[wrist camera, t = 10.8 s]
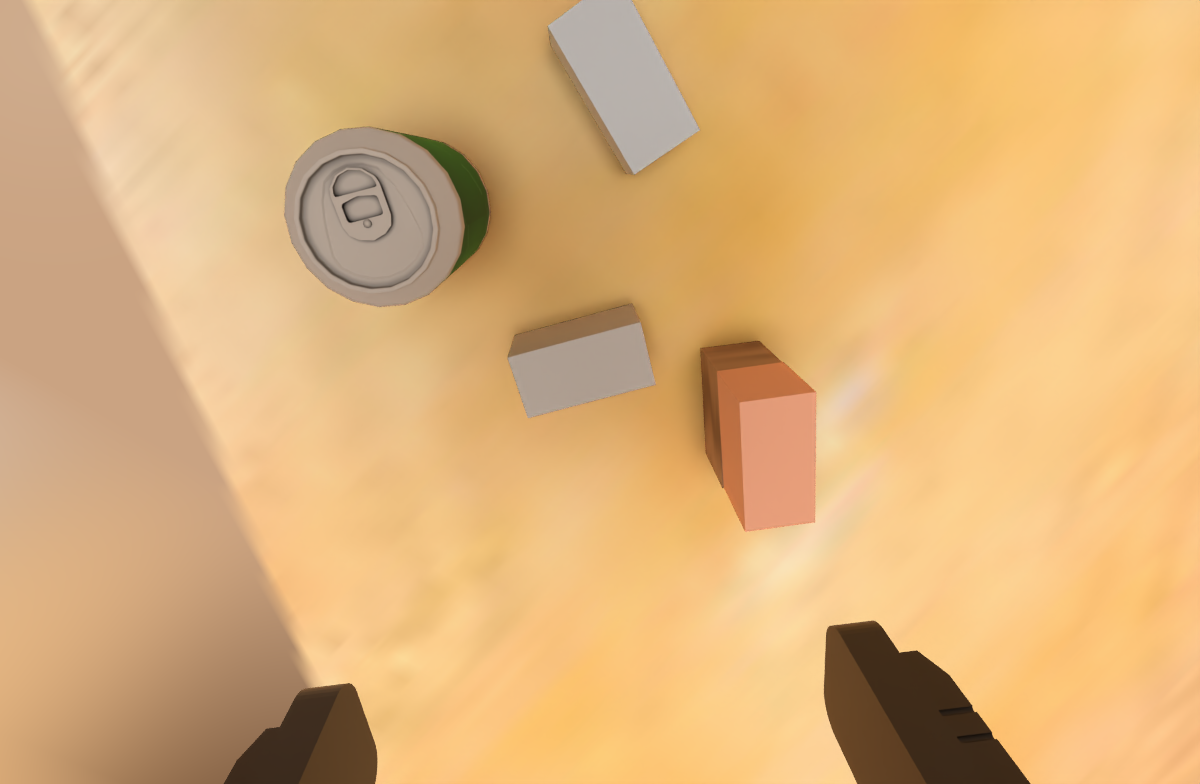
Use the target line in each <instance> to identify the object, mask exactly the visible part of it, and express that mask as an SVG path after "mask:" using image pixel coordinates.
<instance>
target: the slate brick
mask: <svg viewBox="0 0 1200 784" xmlns="http://www.w3.org/2000/svg"><path fill="white" fill-rule="evenodd" d="M508 361H509V364H510V367H511V369H512V372H513V375H514V378H515V381H516V384H517V387H518V390H519V393H520V396H521V399H522V402H523V405H524V408H525V411H526V414H527V417H528V418H530V417H534V416H538V415H542V414H546V413H549V412H553V411H557V410H561V409H565V408H569V407H572V406H576V405H580V404H584V403H588V402H591V401H595V400H599V399H603V398H607V397H611V396H614V395H618V394H622V393H626V392H630V391H633V390H637V389H641V388H645V387H649V386H653V385H656V384H655V380H654V375H653V371H652V367H651V363H650V359H649V355H648V351H647V347H646V342H645V338H644V334H643V330H642V326H641V322H640V320H639V318H638V315H637V313H636V311H635V309H634V307H633V304H628V305H625V306H621V307H617V308H614V309H610V310H606V311H602V312H599V313H595V314H591V315H588V316H584V317H580V318H576V319H573V320H569V321H565V322H562V323H558V324H554V325H550V326H547V327H543V328H539V329H536V330H532V331H528V332H524V333H521V334H517V335H515V336H514V339H513V342H512V345H511V348H510V351H509V355H508Z"/></svg>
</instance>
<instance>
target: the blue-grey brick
mask: <svg viewBox="0 0 1200 784" xmlns="http://www.w3.org/2000/svg"><path fill="white" fill-rule="evenodd" d="M548 31H549V38H550V44H551V47H552V49H553V50H554V52H555V54H556V55H557V57H558V59H559V60H560V62H561V64H562V66H563V67H564V69H565V71H566V72H567V74H568V76H569V77H570V79H571V81H572V83H573V84H574V86H575V88H576V89H577V91H578V93H579V95H580V96H581V98H582V100H583V101H584V103H585V105H586V106H587V108H588V110H589V112H590V113H591V115H592V117H593V118H594V120H595V122H596V123H597V125H598V127H599V129H600V130H601V132H602V134H603V135H604V137H605V139H606V141H607V142H608V144H609V146H610V147H611V149H612V151H613V152H614V154H615V156H616V158H617V159H618V161H619V163H620V164H621V166H622V168H623V169H624V171H625V173H626V174H632V175H635V174H636V173H638V172H639V171H641V170H642V169H643V168H645V167H646V166H648V165H649V164H651V163H652V162H654V161H655V160H657V159H658V158H660V157H661V156H663V155H664V154H665V153H667V152H668V151H670V150H671V149H673V148H674V147H676V146H677V145H679V144H680V143H682V142H683V141H685V140H686V139H687V138H689V137H690V136H692V135H693V134H695V133H696V132H698V131H699V130H700V129H699V127H698V125H697V123H696V121H695V119H694V117H693V116H692V114H691V112H690V110H689V108H688V106H687V104H686V102H685V100H684V98H683V97H682V95H681V93H680V91H679V89H678V87H677V85H676V83H675V81H674V79H673V78H672V76H671V74H670V72H669V70H668V68H667V66H666V64H665V62H664V60H663V59H662V57H661V55H660V53H659V51H658V49H657V47H656V45H655V43H654V41H653V40H652V38H651V36H650V34H649V32H648V30H647V28H646V26H645V24H644V23H643V21H642V19H641V17H640V15H639V13H638V11H637V9H636V7H635V5H634V4H633V2H632V0H582V1H580V2H579V3H578V4H576V5H575V6H574V7H572V8H571V9H570V10H568V11H567V12H566V13H564V14H563V15H562V16H560V17H559V18H558V19H556V20H555V21H554V22H552V23H551V24H550V25H548Z"/></svg>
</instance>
